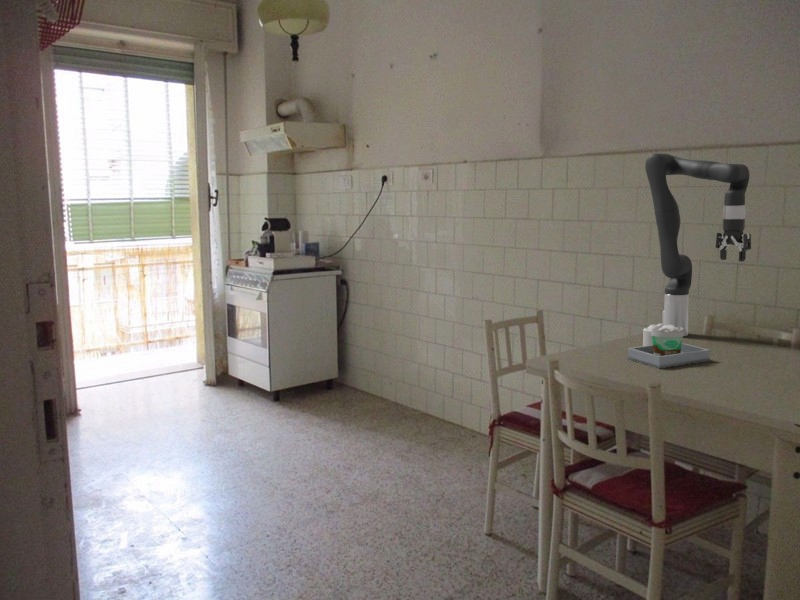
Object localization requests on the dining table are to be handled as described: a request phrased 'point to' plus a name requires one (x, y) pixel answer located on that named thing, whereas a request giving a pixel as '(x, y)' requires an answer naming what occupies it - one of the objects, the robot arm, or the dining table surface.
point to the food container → (667, 341)
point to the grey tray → (669, 356)
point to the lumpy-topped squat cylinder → (659, 327)
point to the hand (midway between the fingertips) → (732, 260)
